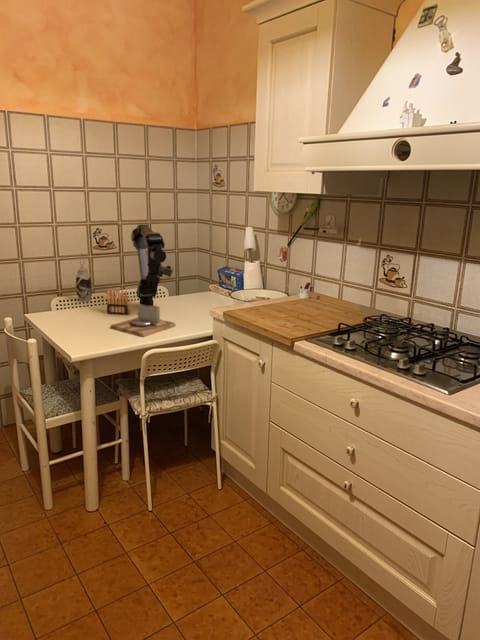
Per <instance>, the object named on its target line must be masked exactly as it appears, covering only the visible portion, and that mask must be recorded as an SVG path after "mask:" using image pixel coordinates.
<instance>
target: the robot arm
mask: <svg viewBox="0 0 480 640" xmlns="http://www.w3.org/2000/svg"><path fill="white" fill-rule="evenodd" d="M130 240H131V242H132V246H133V247H134V248H135V249H136V251H137V258H138V259H137V260H138V266H139V275H140V279H139V281H138V286H137V289H136V297H137V298H138V299H139V304H143V305H149V306H154V298H156V295H157V292H158V286H159V283H160V282H161V280H162V278H163V277H164V276H167V277H169V278H172V275H173V271H174V270H173V268H172V266H170V265H166V266H163V265H162V263H164V262H166V259H167V254H166V251H164V250H163V249H165V246H166V244H165V241H164V238H163V237H162V235H161V233H160V232H155V231H153V230H152V229H151V228H150V227H149V225H148V224H138V225H137V227H136V228H134V229H132V231H131V234H130Z"/></svg>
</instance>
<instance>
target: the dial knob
mask: <svg viewBox="0 0 480 640" xmlns="http://www.w3.org/2000/svg"><path fill="white" fill-rule="evenodd" d="M160 316H161V311H160V306H158V305H153V306H149V305H143V304H140V303H139V304H138V305H137V317H138V318H136V317H135V318H136V319H133V318H132V319H133V320H132V325H134V326H151V325H153V324H155V323H156V324H158V323H160V319H161V317H160Z"/></svg>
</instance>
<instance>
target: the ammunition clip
mask: <svg viewBox="0 0 480 640" xmlns="http://www.w3.org/2000/svg"><path fill="white" fill-rule="evenodd" d="M106 292H107V293H106V294H107V296H106V303H107V304H106V314H107V315H116V316H117V315H118V316H129V315H130V305H129V297H128V296H129V295H128V291H127V290H125V291H124V290H118V291H117V290H116V289H115V290H114V291H113V289H111V290H110V289H107V291H106Z"/></svg>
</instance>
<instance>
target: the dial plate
mask: <svg viewBox="0 0 480 640" xmlns="http://www.w3.org/2000/svg"><path fill="white" fill-rule="evenodd" d="M136 318H138V316H137V317H133V318H130V319H127V320H123V321H120V322H116V323H112V324H111V325H110V329H112V330H116V331H119V332H123V333H128V334H129V335H134V336H137V337H141V338H146V337H148V336H151V335H153V334H154V335H155V334H157V333H160V332H163V331H166V330H168V329H171V328H175V327H176V325H177V323H176V322H172V321H169V320H164V319H161V318H160V323H158V324H156V323H155V324H153V325H151V326H134V325H132V320H133V319H136Z"/></svg>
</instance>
